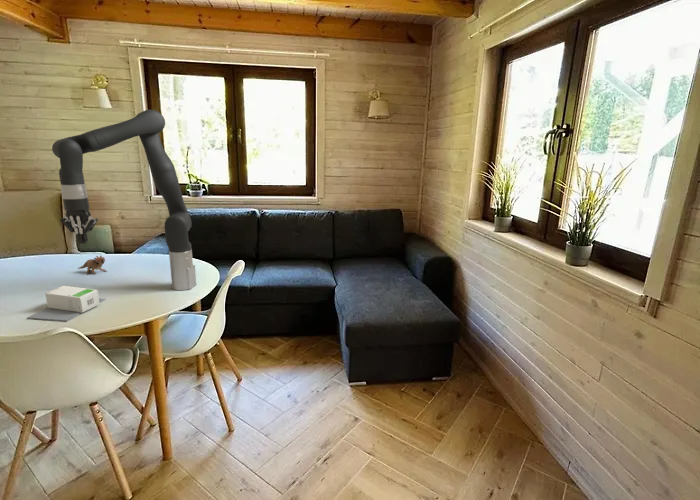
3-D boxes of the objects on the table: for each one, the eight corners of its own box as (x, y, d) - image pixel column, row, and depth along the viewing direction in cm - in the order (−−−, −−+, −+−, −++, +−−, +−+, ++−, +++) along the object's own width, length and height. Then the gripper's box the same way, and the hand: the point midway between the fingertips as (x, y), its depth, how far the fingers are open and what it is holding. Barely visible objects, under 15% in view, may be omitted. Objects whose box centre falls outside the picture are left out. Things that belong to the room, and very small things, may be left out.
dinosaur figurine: (112, 271, 189) (110, 253, 186) (105, 275, 183) (102, 256, 181) (85, 270, 189) (82, 252, 186) (77, 274, 183) (74, 255, 181)
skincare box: (80, 297, 140) (43, 292, 142) (82, 314, 142) (46, 309, 144) (98, 289, 148) (63, 284, 150) (100, 304, 150) (66, 299, 152)
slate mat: (105, 299, 155) (105, 298, 155) (66, 321, 136) (66, 320, 136) (70, 297, 156) (70, 296, 156) (27, 318, 137) (26, 317, 137)
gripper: (100, 195, 141) (107, 241, 146) (65, 195, 142) (73, 240, 147) (85, 198, 134) (93, 246, 139) (49, 197, 135) (58, 245, 139)
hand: (83, 243), depth 143 cm, fingers closed
